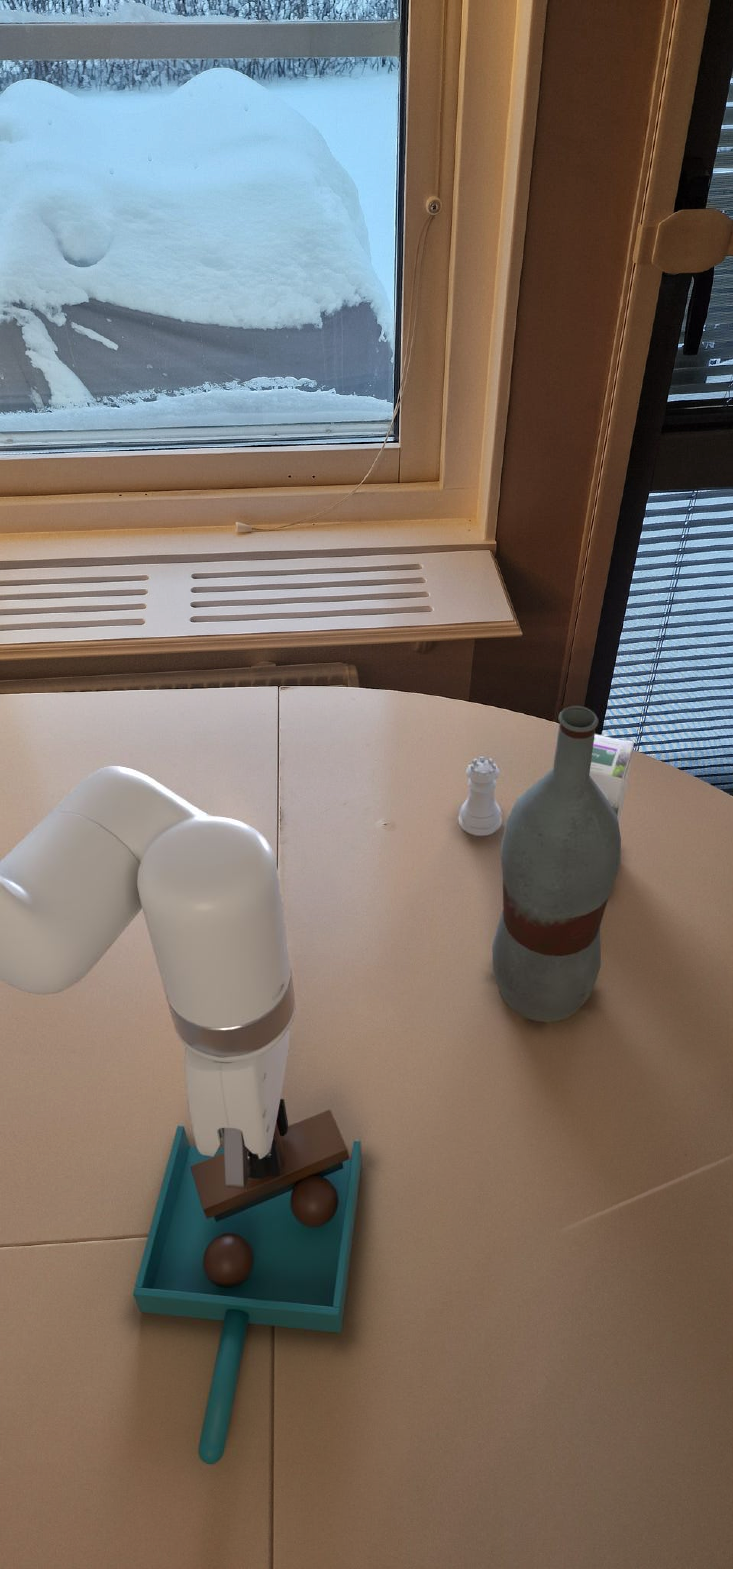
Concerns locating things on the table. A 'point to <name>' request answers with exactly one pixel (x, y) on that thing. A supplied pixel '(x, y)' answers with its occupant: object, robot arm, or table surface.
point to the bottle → (556, 881)
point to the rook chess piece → (481, 799)
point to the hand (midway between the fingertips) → (262, 1149)
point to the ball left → (228, 1260)
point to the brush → (301, 1155)
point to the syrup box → (611, 768)
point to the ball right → (314, 1201)
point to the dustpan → (282, 1288)
